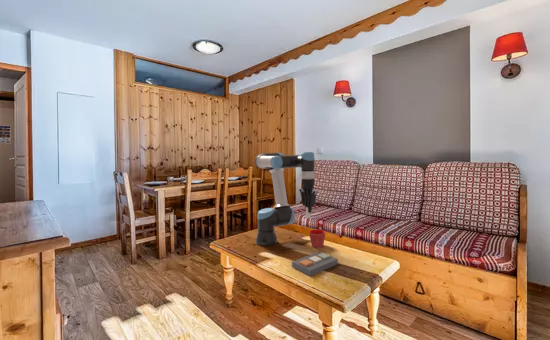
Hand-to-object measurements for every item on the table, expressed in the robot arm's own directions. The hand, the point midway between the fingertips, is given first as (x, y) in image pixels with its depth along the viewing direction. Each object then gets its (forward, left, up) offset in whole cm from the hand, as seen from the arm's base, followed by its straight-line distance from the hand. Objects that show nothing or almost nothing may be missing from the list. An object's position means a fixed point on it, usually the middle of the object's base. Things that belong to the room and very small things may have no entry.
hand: (308, 217), depth 156 cm
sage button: (+10, +2, -23) cm, 25 cm away
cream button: (+10, -5, -23) cm, 26 cm away
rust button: (+10, -12, -23) cm, 28 cm away
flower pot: (-10, +18, -25) cm, 32 cm away
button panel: (+10, -5, -24) cm, 27 cm away
